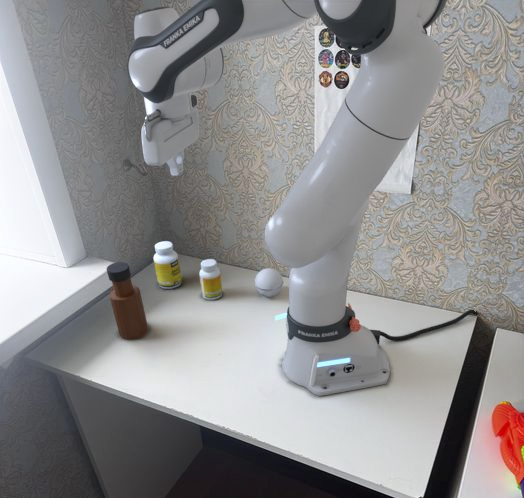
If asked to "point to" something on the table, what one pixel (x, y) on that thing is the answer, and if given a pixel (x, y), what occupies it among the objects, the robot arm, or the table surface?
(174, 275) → the pill bottle
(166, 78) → the robot arm
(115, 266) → the bung
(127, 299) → the bottle
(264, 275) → the white rounded piece
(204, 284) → the supplement bottle
